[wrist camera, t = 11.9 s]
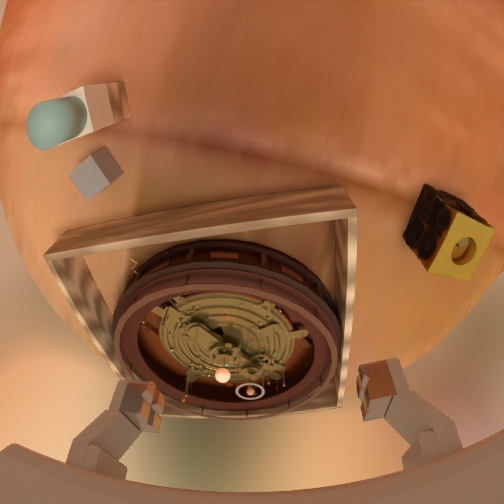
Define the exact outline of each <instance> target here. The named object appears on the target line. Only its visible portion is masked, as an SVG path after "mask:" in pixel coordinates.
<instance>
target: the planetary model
mask: <svg viewBox="0 0 504 504" xmlns="http://www.w3.org/2000/svg"><path fill="white" fill-rule="evenodd" d="M132 260H133V259H132ZM133 261H134V260H133ZM134 262H135V261H134ZM135 263H136V262H135ZM136 264H137V263H136ZM136 264H135V265H136ZM135 265H134V266H133V267H132V268H131V270H133V268H134V267H135ZM133 271H134V272H135V274H134V276H133V277H132V278H131V279H130V281H129V282H128V284H127V287H126V289H125V292H124V294H123V296H122V297H121V298H120V300H119V301H118V304H117V306H116V309H115V312H114V315H113V321H112V333H113V337H114V348H115V351H116V355H117V359H118V361H119V362H120V364H121V366H122V368H123V370H124V371H125V372H126V374H127V375H128V376H129V377H130V378H131V380H136V379H135V377H134V376H133V375H132V374H131V373H130V371H132V372H133V373H134V374H136V375H137V376H138V377H139V378H140V379H141V380H142V381H153V382H154V383H155V384H156V389H157V390H159V391H161V393H162V394H164V395H166V396H168V397H170V398H172V399H174V400H177V401H180V402H182V403H185V404H188V405H191V406H195V407H199V408H202V413H203V409H208V410H215V411H246V417H247V416H248V411H253V410H261V409H269V408H276V407H280V406H283V405H286V404H288V406H289V409H286V410H283V411H280V412H277V413H273V414H269V415H263V416H258V417H247V418H225V417H216V416H209V415H204V414H202V413H201V414H200V413H195V412H191V411H188V410H186V409H183V408H180V407H177V406H175V405H173V404H171V403H168V402H166V401H164V404H166V405H168V406H170V407H173V408H175V409H178V410H181V411H183V412H186V413H189V414H193V415H197V416H201V417H206V418H213V419H220V420H253V419H261V418H267V417H272V416H277V415H280V414H283V413H286V412H289V411H292V410H294V409H296V408H298V407H300V406H303V405H305V404H306V403H308V402H309V401H311V400H312V399H314V398H315V397H317V396H318V395H319V394H320V393H321V392H322V391H323V390H324V389H325V388H326V387H327V385H328V384H329V382H330V381H331V379H332V378H333V376H334V373H335V370H336V367H337V364H338V363H339V360H340V356H341V343H342V331H341V328H340V325H339V322H338V320H337V312H336V309H335V306H334V304H333V301H332V298H331V296H330V294H329V292H328V291H327V290H326V288H325V287H324V285H323V284H322V283H321V281H320V280H319V279H318V278H317V277H316V276H315V275H313V274H312V273H311V272H310V271H309V270H308V269H307V268H305V267H304V266H303V265H301V264H300V263H298V262H296V261H294V260H292V259H291V258H289V257H287V256H285V255H283V254H282V253H279V252H276V251H273V250H270V249H267V248H264V247H261V246H258V245H253V244H247V243H240V242H233V241H201V242H197V243H192V244H187V245H182V246H178V247H175V248H172V249H170V250H168V251H166V252H163V253H161V254H159V255H156V256H155V257H153V258H152V259H151V260H149V261H148V262H147V263H145V264H144V265H143V266H141V267H140V268H139V269H138V271H137V272H136V271H135V270H133ZM123 360H124V361H123ZM125 363H126V364H127V366H128V367H129V368H130V369H129V370H128V368H127V366H126V364H125ZM320 386H321V387H320ZM318 387H320V388H319V389H318V390H317V391H316V392H315V393H314V394H313V395H311V396H310V397H309V398H307V399H306V400H304V401H303V402H301V403H299V404H297V405H295V406H293V407H291V408H290V403H292V402H294V401H296V400H298V399H300V398H302V397H304V396H306V395H308V394H310V393H311V392H313V391H314V390H315V389H317V388H318Z"/></svg>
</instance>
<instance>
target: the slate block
mask: <svg viewBox="0 0 504 504" xmlns="http://www.w3.org/2000/svg"><path fill="white" fill-rule="evenodd" d="M123 173H124V172H123V170H122V169H121V167H120V166H119V164H118V163H117V162H116V160H115V159H114V157H113V156H112V154H111V153H110V151H109V150H108V148H107V147H104V148H102V149H100V150H98V151H96V152H95V153H93V154H91V155H90V156H88V157H87V158H86V159H85V160H84V161H83V162H82V163H81V164H80V165H79V166H77V167H76V168H75V169H74V170H73V171H72V172H71V173H70V174H69V176H70V177H71V179H72V180H73V182H74V183H75V185H76V186H77V188H78V189H79V190H80V192H81V193H82V195H83V196H84V197H85V199H86V200H87V202H88V201H89V200H90V199H92V198H93V197H94V196H95V195H96V194H98V193H99V192H100V191H101V190H103V189H104V188H105V187H106V186H108V185H109V184H110V183H112V182H113V181H114V180H115V179H116V178H118V177H119V176H120V175H121V174H123Z"/></svg>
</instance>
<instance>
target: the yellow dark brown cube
mask: <svg viewBox="0 0 504 504" xmlns="http://www.w3.org/2000/svg"><path fill="white" fill-rule="evenodd" d="M495 231H496V230H495V228H493V227H492V226H491V225H489V224H488V223H487V222H486V220H485V219H483V218H482V217H481V216H479V215H478V214H477V212H475V210H474V209H473V208H471V207H470V206H469V205H468V204H467V203H466V202H464V201H463V200H460V199H458V198H456V197H455V196H453V195H451V194H448V193H446V192H443V191H440V192H438V191H437V190H435V189H434V188H433V187H432V186H429V185H426V184H425V185H424V189H423V190H422V192H421V195H420V197H419V198H418V202H417V204H416V206H415V208H414V212H413V214H412V216H411V219H410V222H409V224H408V227H407V229H406V231H405V232H404V235H403V238H404V239H405V240H406V244H407V245H408V246H409V247H410V249H411V250H412V251H413V252H414V253H415V255H416V256H417V257H418V259H419V260H421V263H422V264H423V266H424V268H425V269H426V271H427V272H429V273H433V274H438V275H443V276H448V277H452V278H455V279H459V280H463V281H468V280H469V279H470V277H471V276H472V274H473V272H474V270H475V268H476V266H477V264H478V263H479V261H480V259H481V257H482V255H483V254H484V252H485V250H486V248H487V246H488V244H489V242H490V240H491V239H492V237H493V235H494V233H495Z"/></svg>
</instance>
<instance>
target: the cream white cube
mask: <svg viewBox="0 0 504 504" xmlns="http://www.w3.org/2000/svg"><path fill="white" fill-rule="evenodd" d="M66 96H76V97H78V98H80V99H81V100H82V101H83V103H84V104H85V106H86V109H87V123H86V126H85V128H84V130H83V131H82V132H81V134H79V135H78V136H77V137H74V138H72V139H70V140H68V141H71V140H73V139H76V138H78V137H81V136H84V135H86V134H89V133H92V132H94V131H97V130H99V129H102V128H104V127H107V126H109V125H112V124H115V122H114V118H113V114H112V109H111V105H110V101H109V96H108V91H107V87H106V83H103V84H94V85H86V86H82V87H80V88H77V89H75V90H73V91H71V92H69V93H67V94H65V95H63V96H61V97H66ZM61 97H58V98H61ZM56 99H57V98H56ZM68 141H65V142H63V143H66V142H68ZM63 143H61V144H63ZM61 144H59V145H61ZM59 145H58V146H59Z"/></svg>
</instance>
